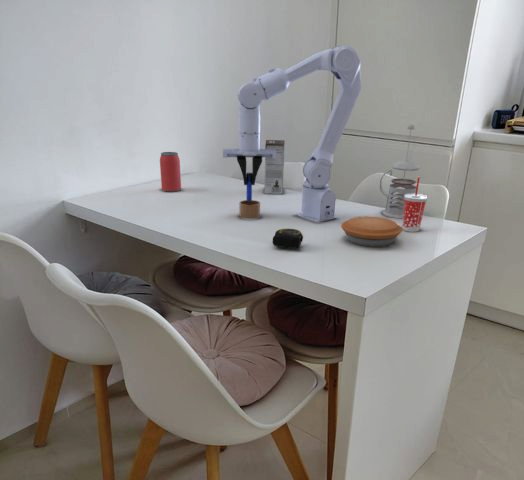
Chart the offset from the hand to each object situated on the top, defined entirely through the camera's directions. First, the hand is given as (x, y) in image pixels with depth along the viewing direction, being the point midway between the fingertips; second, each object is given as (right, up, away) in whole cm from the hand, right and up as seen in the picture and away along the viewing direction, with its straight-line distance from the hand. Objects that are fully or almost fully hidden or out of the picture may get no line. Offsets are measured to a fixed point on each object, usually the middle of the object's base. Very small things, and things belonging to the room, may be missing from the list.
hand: (249, 184), depth 152 cm
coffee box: (+8, +8, +35) cm, 36 cm away
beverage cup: (+45, -13, -3) cm, 47 cm away
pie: (+32, -18, -13) cm, 39 cm away
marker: (0, -4, +2) cm, 4 cm away
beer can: (-27, +8, +33) cm, 44 cm away
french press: (+44, -6, +11) cm, 46 cm away
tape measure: (+10, -22, -19) cm, 31 cm away
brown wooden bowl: (0, -8, +5) cm, 9 cm away
